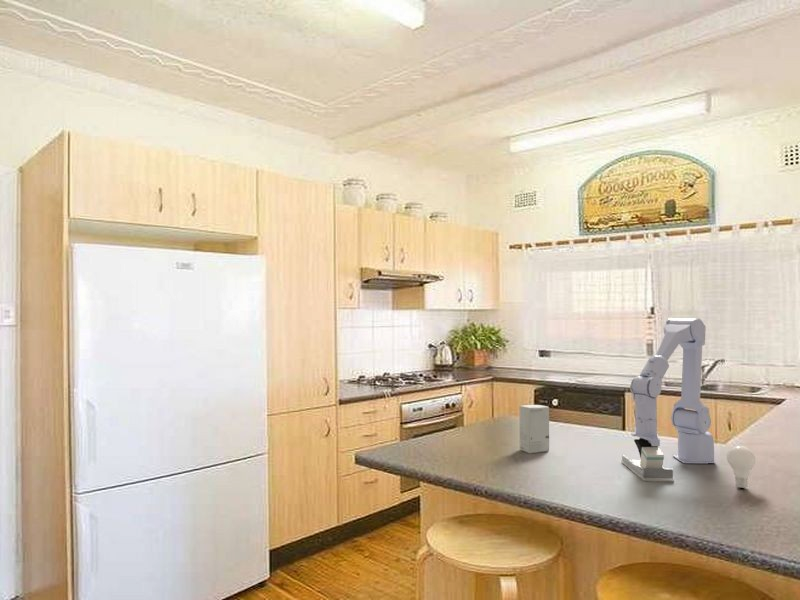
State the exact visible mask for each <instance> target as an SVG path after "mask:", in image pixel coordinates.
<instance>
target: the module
mask: <svg viewBox="0 0 800 600" xmlns="http://www.w3.org/2000/svg"><path fill="white" fill-rule="evenodd" d="M659 447H660V446H658V447H642V449H641V458H640V459H639V460H640V466H641V468H642V469H643V468H662V466H663V465H664V459H665V454H664V453H663V452H662V450H661V449H660V448H659ZM663 467H664V466H663Z"/></svg>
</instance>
